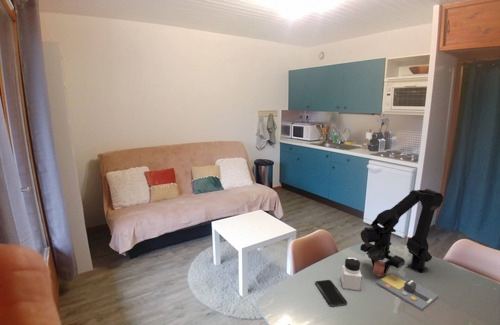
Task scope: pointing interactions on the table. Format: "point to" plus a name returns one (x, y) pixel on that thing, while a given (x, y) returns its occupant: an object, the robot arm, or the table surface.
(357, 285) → the medicine bottle
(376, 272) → the cap
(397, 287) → the panel
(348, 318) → the table surface
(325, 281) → the phone
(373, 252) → the robot arm
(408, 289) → the breaker
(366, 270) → the table surface
